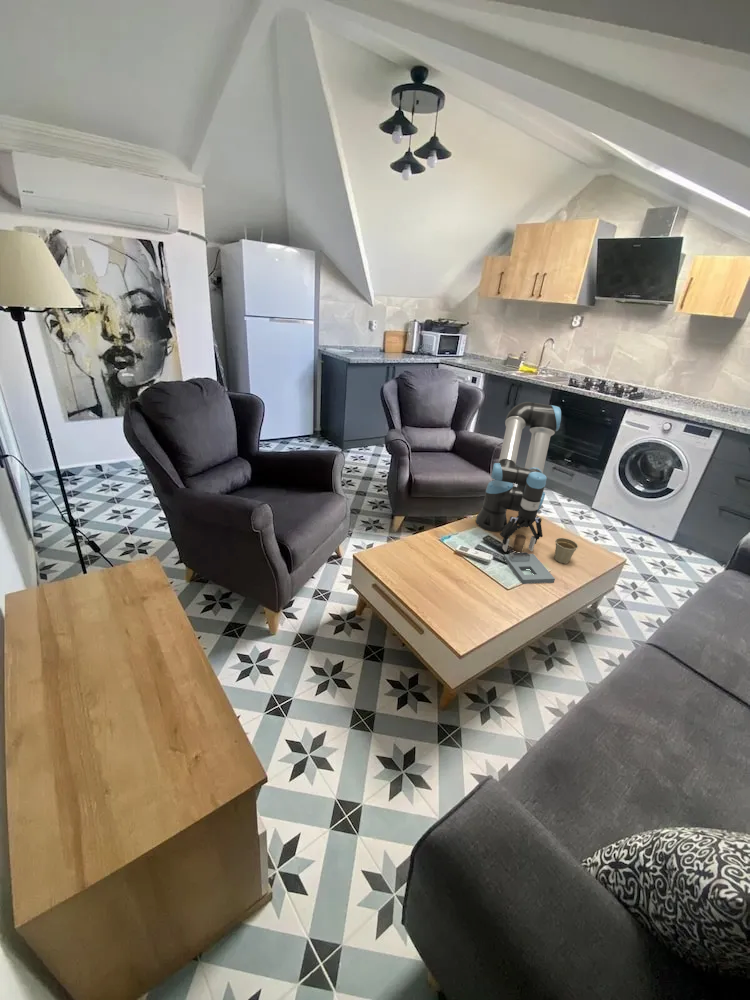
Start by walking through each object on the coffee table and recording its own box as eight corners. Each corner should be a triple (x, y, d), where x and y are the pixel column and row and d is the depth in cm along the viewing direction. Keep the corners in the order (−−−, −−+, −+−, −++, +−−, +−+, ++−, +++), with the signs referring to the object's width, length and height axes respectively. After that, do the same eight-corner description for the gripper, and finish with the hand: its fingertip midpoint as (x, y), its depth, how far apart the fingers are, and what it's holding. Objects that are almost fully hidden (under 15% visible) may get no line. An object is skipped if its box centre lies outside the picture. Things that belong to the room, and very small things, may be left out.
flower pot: (548, 561, 183) (554, 544, 180) (551, 551, 191) (556, 535, 187) (571, 568, 180) (577, 551, 176) (573, 558, 187) (578, 541, 184)
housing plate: (503, 558, 182) (504, 554, 182) (532, 557, 185) (533, 553, 184) (522, 583, 167) (523, 579, 166) (553, 582, 169) (555, 578, 168)
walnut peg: (510, 549, 190) (514, 534, 187) (519, 548, 191) (523, 533, 187) (514, 554, 186) (518, 539, 183) (523, 554, 187) (527, 539, 183)
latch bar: (508, 557, 180) (510, 551, 178) (525, 557, 181) (527, 551, 180) (511, 561, 177) (513, 555, 176) (529, 561, 178) (530, 555, 177)
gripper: (506, 511, 173) (495, 554, 183) (559, 511, 177) (546, 554, 187) (499, 503, 180) (489, 545, 189) (550, 503, 184) (537, 545, 193)
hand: (517, 549), depth 188 cm, fingers open, 12 cm apart
